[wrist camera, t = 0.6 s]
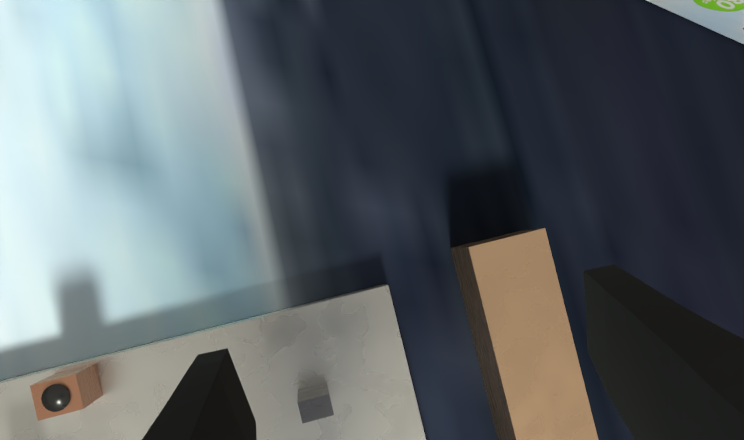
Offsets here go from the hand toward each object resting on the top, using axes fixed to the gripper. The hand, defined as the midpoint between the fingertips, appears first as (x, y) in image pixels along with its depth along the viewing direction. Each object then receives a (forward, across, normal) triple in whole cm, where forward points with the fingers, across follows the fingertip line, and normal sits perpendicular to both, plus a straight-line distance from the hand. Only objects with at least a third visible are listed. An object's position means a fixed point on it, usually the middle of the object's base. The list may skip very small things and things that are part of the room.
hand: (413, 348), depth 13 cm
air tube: (+16, -6, +19) cm, 26 cm away
